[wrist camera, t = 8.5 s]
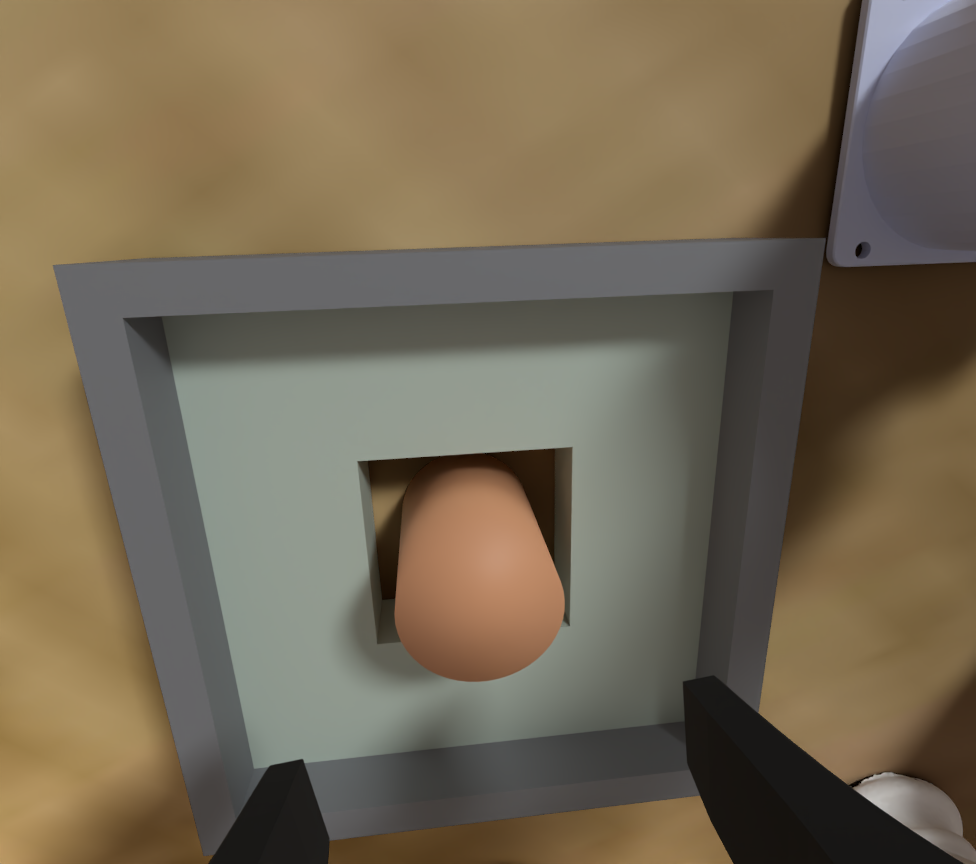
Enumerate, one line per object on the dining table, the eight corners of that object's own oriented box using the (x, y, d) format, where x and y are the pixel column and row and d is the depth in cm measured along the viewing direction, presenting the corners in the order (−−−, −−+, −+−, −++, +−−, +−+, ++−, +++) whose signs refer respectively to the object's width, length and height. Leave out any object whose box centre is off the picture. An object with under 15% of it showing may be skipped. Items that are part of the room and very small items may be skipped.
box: (734, 237, 19) (825, 237, 15) (691, 693, 24) (747, 789, 20) (144, 258, 17) (52, 265, 13) (244, 740, 23) (203, 856, 19)
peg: (512, 438, 20) (547, 516, 14) (537, 548, 22) (577, 658, 16) (387, 469, 20) (373, 560, 14) (420, 577, 21) (419, 699, 16)
